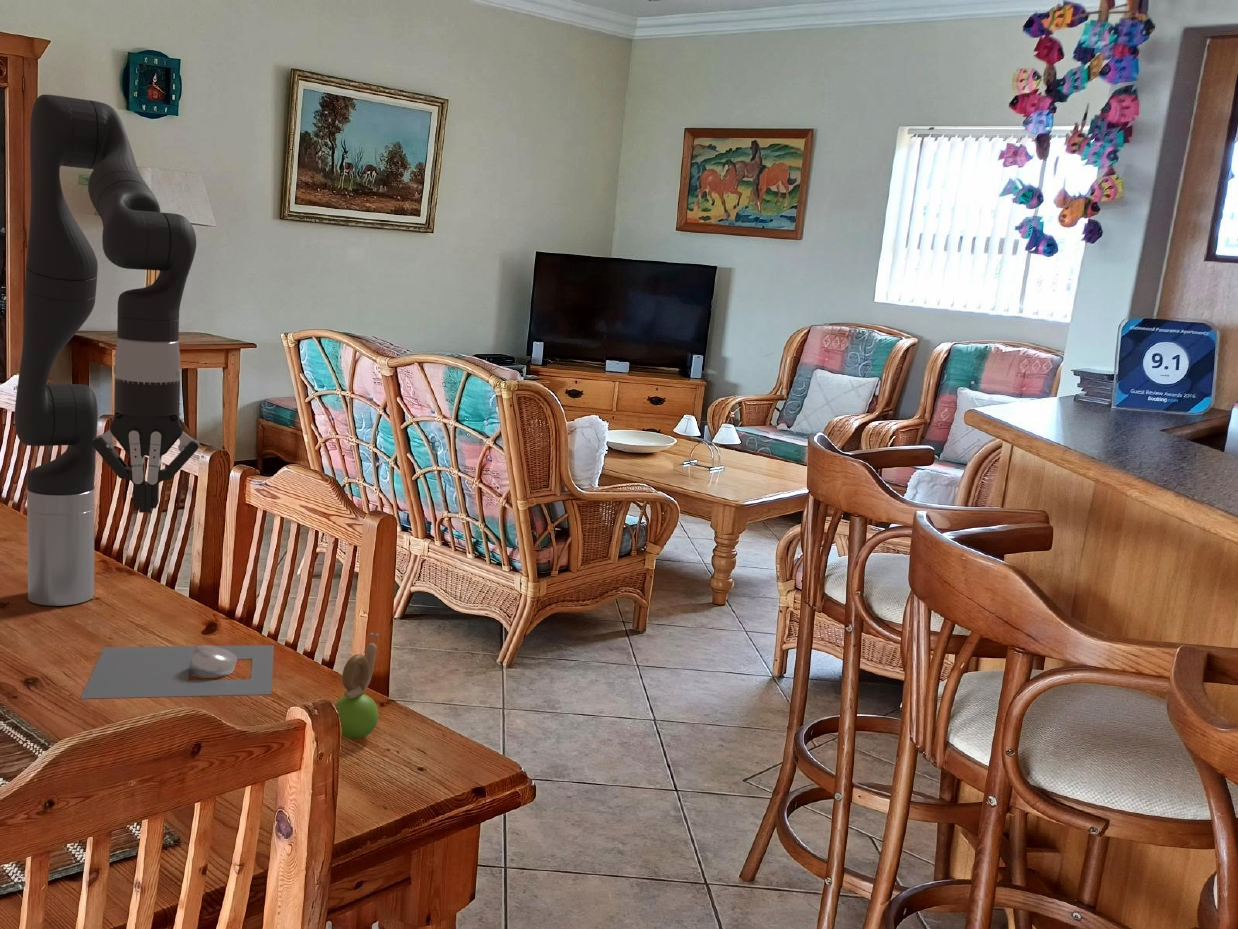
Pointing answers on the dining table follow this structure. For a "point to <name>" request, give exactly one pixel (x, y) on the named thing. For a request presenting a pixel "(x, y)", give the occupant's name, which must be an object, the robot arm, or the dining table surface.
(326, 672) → the dining table surface
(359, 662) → the green toy figure
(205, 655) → the silver rounded puck
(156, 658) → the charcoal board
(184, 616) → the dining table surface
